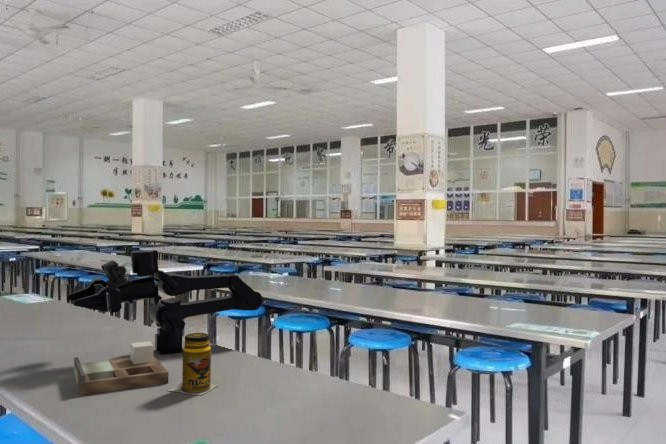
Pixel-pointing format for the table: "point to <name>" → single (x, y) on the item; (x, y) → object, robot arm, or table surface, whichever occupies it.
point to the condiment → (196, 365)
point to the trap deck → (117, 375)
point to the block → (141, 352)
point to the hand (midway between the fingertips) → (70, 300)
